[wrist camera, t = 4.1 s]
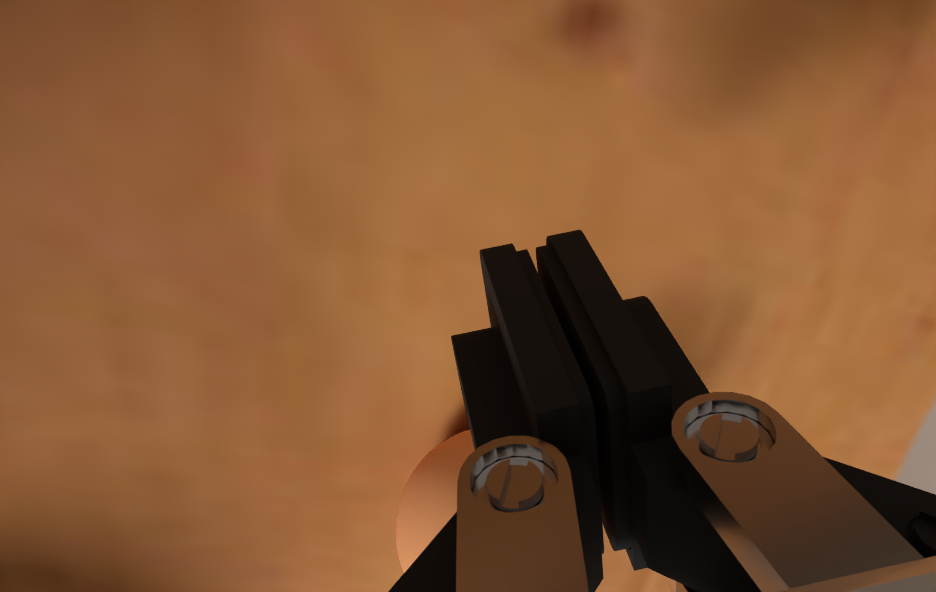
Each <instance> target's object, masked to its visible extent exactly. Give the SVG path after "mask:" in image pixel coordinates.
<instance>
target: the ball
mask: <svg viewBox="0 0 936 592" xmlns="http://www.w3.org/2000/svg"><path fill="white" fill-rule="evenodd" d="M474 451H475V450H474V445H473V441H472V436H471V432H470V430H466V431H463V432H461V433H458V434H456V435H454V436H452V437H450V438H448V439H447V440H445V441H444V442H442V443H441V444H439V445H438V446H436V447H435V448H434V449H433V450H432V451H430V452H429V453H428V454H427V455H426V456H425V457H424V458H423V460H422V461H421V462H420V463H419V465H418V466H417V467H416V469H415V470H414V471H413V473H412V475H411V476H410V478H409V480H408V482H407V484H406V486H405V488H404V491H403V493H402V496H401V500H400V503H399V507H398V512H397V520H396V545H397V550H398V555H399V559H400V564H401V567H402V569H403V572H404V573H405V572H406V570H407V569H408V568H409V567H410V566H411V565H412V563H413V562H414V561H415V560H416V559H417V558H418V556H419V555H420V554H421V553H422V552H423V551H424V549H425V548H426V547H427V546H428V545H429V543H430V542H431V541H432V540H433V539H434V538H435V536H436V535H437V534H438V533H439V532H440V531H441V529H442V528H443V527H444V526H445V525H446V523H447V522H448V521H449V520H450V519H451V518H452V516H453V515H454V514H455V513H456V512H457V481H458V476H459V472H460V468H461V467H462V465H463V463H464V462H465V460H466V459H467V457H468V456H469V455H470V454H471V453H473V452H474Z"/></svg>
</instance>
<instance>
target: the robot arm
mask: <svg viewBox="0 0 936 592" xmlns="http://www.w3.org/2000/svg"><path fill="white" fill-rule="evenodd" d="M536 259H537V268H538V273H537V270H536V268H535V266H534V264H533V261H532V259H531V257H530V255H529V252H528V250H521V251H516V250H515V247H514V245H513V244H507V245H502V246H497V247H492V248H487V249H482V250H480V260H481V266H482V273H483V279H484V286H485V292H486V298H487V305H488V311H489V317H490V324H491V328H487V329H482V330H477V331H473V332H468V333H463V334H458V335H453V336H451V339H452V344H453V350H454V355H455V360H456V365H457V370H458V375H459V380H460V385H461V390H462V395H463V400H464V404H465V409H466V414H467V418H468V423H469V427H470V432H471V436H472V441H473V445H474V450H475V451H474V452H473V453H471V454H470V455H469V456H468V457H467V459H466V460H465V462H464V463H463V465H462V467H461V468H460V472H459V476H458V481H457V512H456V513H455V514H454V515H453V516H452V518H451V519H450V520H449V521H448V522H447V523H446V525H445V526H444V527H443V528H442V529H441V531H440V532H439V533H438V534H437V535H436V536H435V538H434V539H433V540H432V541H431V542H430V543H429V545H428V546H427V547H426V548H425V549H424V551H423V552H422V553H421V554H420V555H419V556H418V558H417V559H416V560H415V561H414V562H413V563H412V565H411V566H410V567H409V568H408V569H407V570H406V572H405V573H404V574H403V575H402V576H401V578H400V579H399V580H398V581H397V582H396V583H395V585H394V586H393V587H392V588H391V589H390V590H389V592H595V590H596V589H597V587H598V586H599V584H600V583H601V581H602V579H603V566H602V554H603V553H604V542H603V526H602V523H603V525H604V528H605V531H606V533H607V536H608V539H609V541H610V544H611V546H612V548H613V550H614V551H618V550H622V549H626V551H627V553H628V556H629V559H630V561H631V564H632V566H633V569H634V571H635V570H639V569H643V568H649V569H651V570H653V571H655V572H658V573H660V574H662V575H664V576H666V577H668V578H670V587H671V589H672V591H673V592H936V495H935V494H932V493H929V492H926V491H923V490H920V489H917V488H914V487H911V486H908V485H905V484H902V483H899V482H896V481H893V480H890V479H887V478H884V477H881V476H878V475H875V474H872V473H869V472H867V471H864V470H861V469H858V468H855V467H852V466H849V465H846V464H843V463H840V462H837V461H834V460H831V459H828V458H825V457H822V456H821V455H820V454H819V453H818V452H817V451H816V450H815V449H814V448H813V447H812V446H811V445H810V444H809V443H808V442H807V441H806V440H805V439H804V438H803V437H802V436H801V435H800V434H799V433H798V432H797V431H796V430H795V429H794V428H793V427H792V426H791V425H790V424H789V423H788V422H787V421H786V420H785V419H784V418H783V417H782V416H781V415H780V414H779V413H778V412H777V411H776V410H774V409H773V408H772V407H770V406H769V405H768V404H766V403H765V402H763V401H760V400H758V399H756V398H754V397H751V396H748V395H744V394H739V393H734V392H712V393H709V391H708V390H707V388H706V386H705V385H704V383H703V382H702V380H701V379H700V377H699V376H698V374H697V373H696V371H695V369H694V368H693V366H692V365H691V363H690V362H689V360H688V359H687V357H686V355H685V354H684V352H683V351H682V349H681V348H680V346H679V345H678V343H677V342H676V340H675V338H674V337H673V335H672V334H671V332H670V331H669V329H668V328H667V326H666V324H665V323H664V321H663V320H662V318H661V317H660V315H659V314H658V312H657V311H656V309H655V307H654V306H653V304H652V303H651V302H650V300H649V299H648V298H647V297H645V296H641V297H636V298H631V299H626V300H622V298H621V296H620V295H619V293H618V291H617V290H616V288H615V286H614V285H613V283H612V281H611V279H610V278H609V276H608V274H607V273H606V271H605V269H604V268H603V266H602V264H601V262H600V261H599V259H598V257H597V256H596V254H595V252H594V251H593V249H592V247H591V246H590V244H589V242H588V240H587V239H586V237H585V235H584V234H583V232H582V231H581V230H576V231H571V232H566V233H561V234H556V235H551V236H547V239H546V246H541V247H537V248H536Z"/></svg>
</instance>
